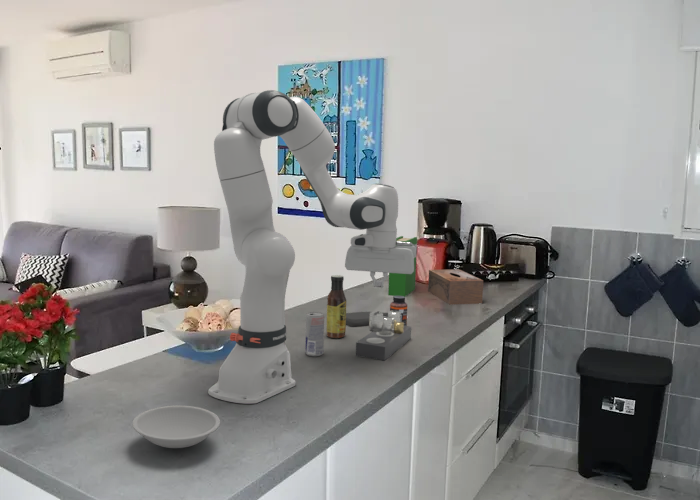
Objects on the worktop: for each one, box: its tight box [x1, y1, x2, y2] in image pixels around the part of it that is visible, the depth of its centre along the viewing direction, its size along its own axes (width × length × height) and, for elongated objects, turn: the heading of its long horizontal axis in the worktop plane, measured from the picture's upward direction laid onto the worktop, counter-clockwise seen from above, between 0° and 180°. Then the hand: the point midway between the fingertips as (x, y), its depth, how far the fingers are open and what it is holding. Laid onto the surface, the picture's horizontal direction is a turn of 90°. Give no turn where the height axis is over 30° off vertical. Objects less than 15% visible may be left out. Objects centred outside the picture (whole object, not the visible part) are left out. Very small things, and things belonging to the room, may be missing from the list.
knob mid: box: [379, 316, 392, 335], centre depth 177 cm, size 4×4×5 cm
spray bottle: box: [346, 311, 409, 328], centre depth 208 cm, size 3×11×24 cm
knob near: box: [368, 311, 384, 333], centre depth 169 cm, size 4×4×5 cm
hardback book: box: [387, 235, 418, 298], centre depth 255 cm, size 18×7×24 cm, turn 159°
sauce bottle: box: [325, 274, 347, 339], centre depth 186 cm, size 7×6×20 cm
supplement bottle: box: [389, 296, 408, 326], centre depth 197 cm, size 6×6×11 cm
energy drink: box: [304, 311, 325, 357], centre depth 169 cm, size 5×5×12 cm
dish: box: [132, 404, 221, 449], centre depth 112 cm, size 18×14×5 cm
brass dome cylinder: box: [394, 322, 404, 334], centre depth 179 cm, size 3×3×3 cm
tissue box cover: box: [427, 269, 484, 306], centre depth 249 cm, size 26×14×10 cm, turn 12°
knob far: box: [387, 310, 401, 329], centre depth 184 cm, size 4×4×5 cm
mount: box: [355, 326, 412, 361], centre depth 177 cm, size 24×9×4 cm, turn 156°
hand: (378, 287), depth 169 cm, fingers closed
